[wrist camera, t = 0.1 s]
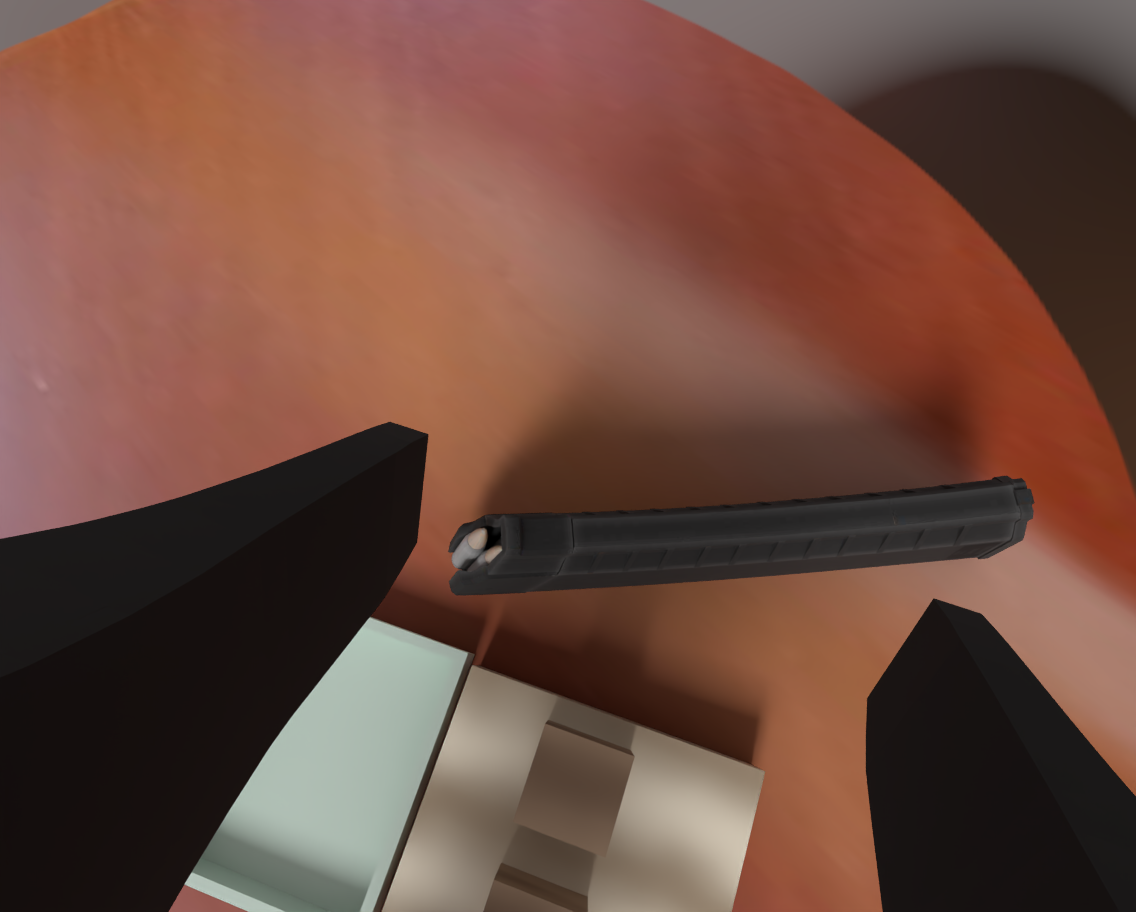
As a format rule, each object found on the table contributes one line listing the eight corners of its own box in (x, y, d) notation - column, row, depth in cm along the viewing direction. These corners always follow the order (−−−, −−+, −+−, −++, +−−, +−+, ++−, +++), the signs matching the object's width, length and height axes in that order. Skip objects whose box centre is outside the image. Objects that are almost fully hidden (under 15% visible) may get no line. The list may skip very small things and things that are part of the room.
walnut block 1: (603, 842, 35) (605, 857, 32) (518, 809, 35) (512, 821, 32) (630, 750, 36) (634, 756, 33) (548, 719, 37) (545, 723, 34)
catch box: (370, 938, 36) (356, 957, 34) (183, 860, 38) (156, 872, 35) (475, 654, 40) (468, 653, 38) (303, 592, 42) (286, 587, 39)
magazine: (1108, 462, 34) (495, 454, 26) (1129, 528, 33) (499, 542, 25) (872, 534, 50) (444, 544, 41) (882, 581, 49) (445, 600, 40)
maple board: (680, 1055, 35) (688, 1089, 32) (383, 931, 36) (366, 953, 34) (751, 764, 38) (765, 771, 36) (479, 665, 40) (472, 665, 37)
